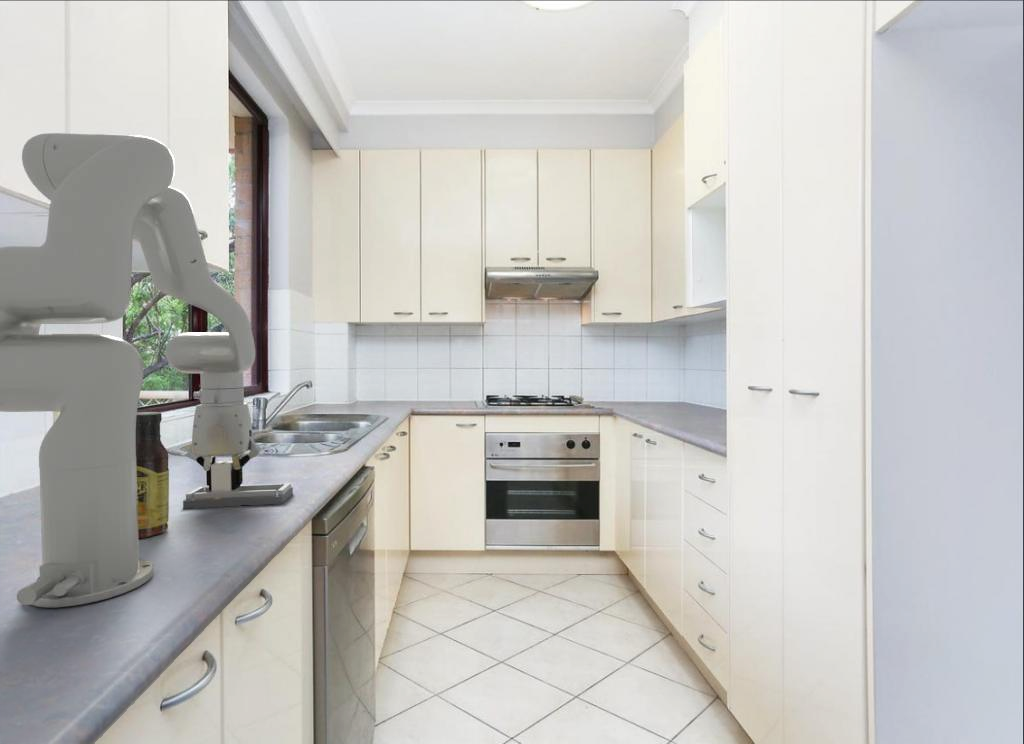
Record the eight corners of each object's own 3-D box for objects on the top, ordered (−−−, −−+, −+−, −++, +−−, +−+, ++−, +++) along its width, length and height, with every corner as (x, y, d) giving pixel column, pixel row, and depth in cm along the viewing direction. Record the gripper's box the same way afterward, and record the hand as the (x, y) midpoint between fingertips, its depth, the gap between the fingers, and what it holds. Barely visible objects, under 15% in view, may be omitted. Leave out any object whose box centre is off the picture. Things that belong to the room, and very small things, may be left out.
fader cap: (230, 494, 106) (230, 463, 106) (211, 495, 105) (211, 464, 105) (237, 490, 109) (236, 460, 109) (218, 490, 109) (218, 460, 108)
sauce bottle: (113, 537, 86) (110, 413, 85) (152, 526, 92) (149, 410, 91) (141, 542, 84) (138, 415, 83) (179, 530, 89) (176, 411, 89)
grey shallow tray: (282, 504, 105) (282, 491, 105) (183, 508, 102) (182, 495, 102) (292, 493, 113) (292, 482, 113) (201, 497, 110) (200, 485, 110)
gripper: (168, 399, 102) (171, 495, 102) (260, 398, 104) (262, 491, 105) (186, 396, 109) (189, 486, 110) (272, 395, 112) (274, 482, 112)
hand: (225, 487), depth 107 cm, fingers closed on fader cap, 3 cm apart
